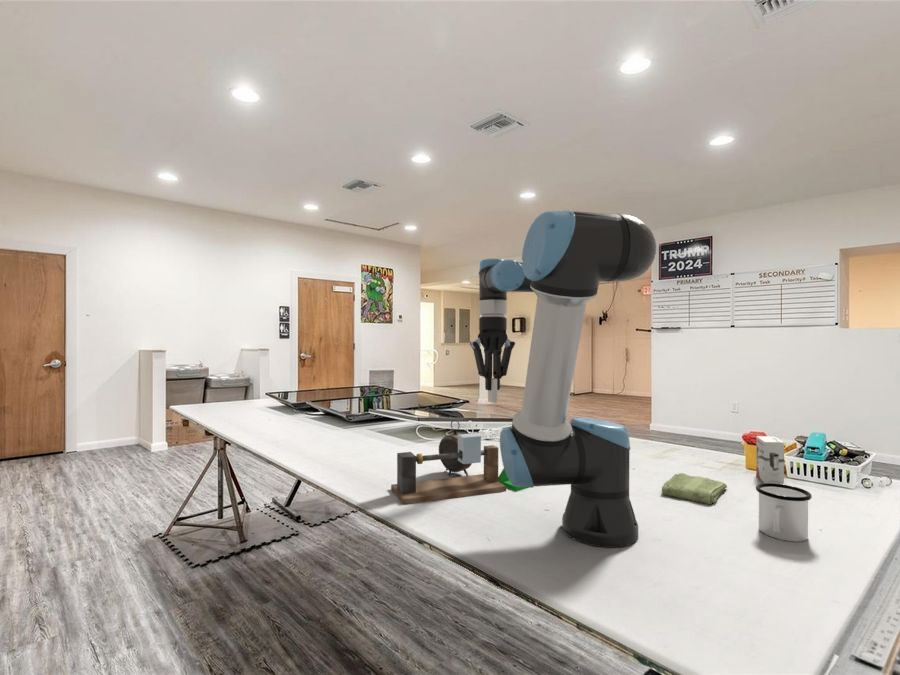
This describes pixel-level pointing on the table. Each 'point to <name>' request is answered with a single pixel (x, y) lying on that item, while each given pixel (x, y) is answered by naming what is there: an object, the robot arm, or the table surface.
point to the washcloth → (693, 488)
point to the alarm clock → (451, 446)
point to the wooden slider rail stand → (445, 487)
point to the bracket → (508, 482)
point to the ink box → (770, 459)
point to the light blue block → (469, 448)
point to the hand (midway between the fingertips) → (492, 401)
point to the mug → (783, 511)
